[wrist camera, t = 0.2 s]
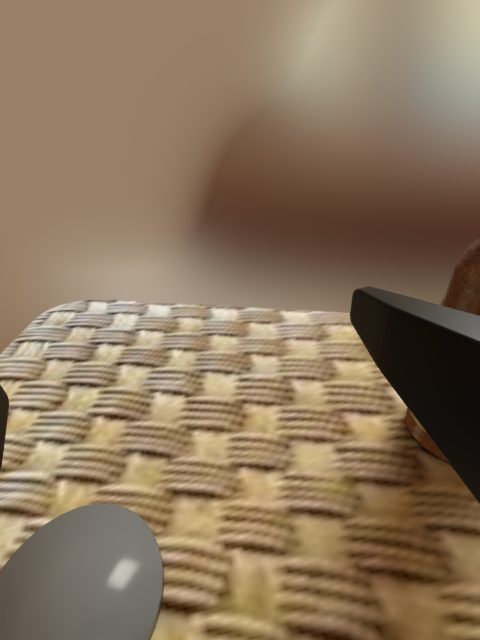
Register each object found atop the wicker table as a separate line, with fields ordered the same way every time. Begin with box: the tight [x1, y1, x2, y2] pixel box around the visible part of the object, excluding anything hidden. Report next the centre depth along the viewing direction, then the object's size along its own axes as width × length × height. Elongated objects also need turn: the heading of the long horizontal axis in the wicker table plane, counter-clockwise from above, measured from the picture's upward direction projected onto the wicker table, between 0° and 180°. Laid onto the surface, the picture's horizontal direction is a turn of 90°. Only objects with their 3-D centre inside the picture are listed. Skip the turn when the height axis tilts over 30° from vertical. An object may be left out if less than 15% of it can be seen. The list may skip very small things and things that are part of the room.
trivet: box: [0, 504, 164, 640], centre depth 17 cm, size 9×9×1 cm
